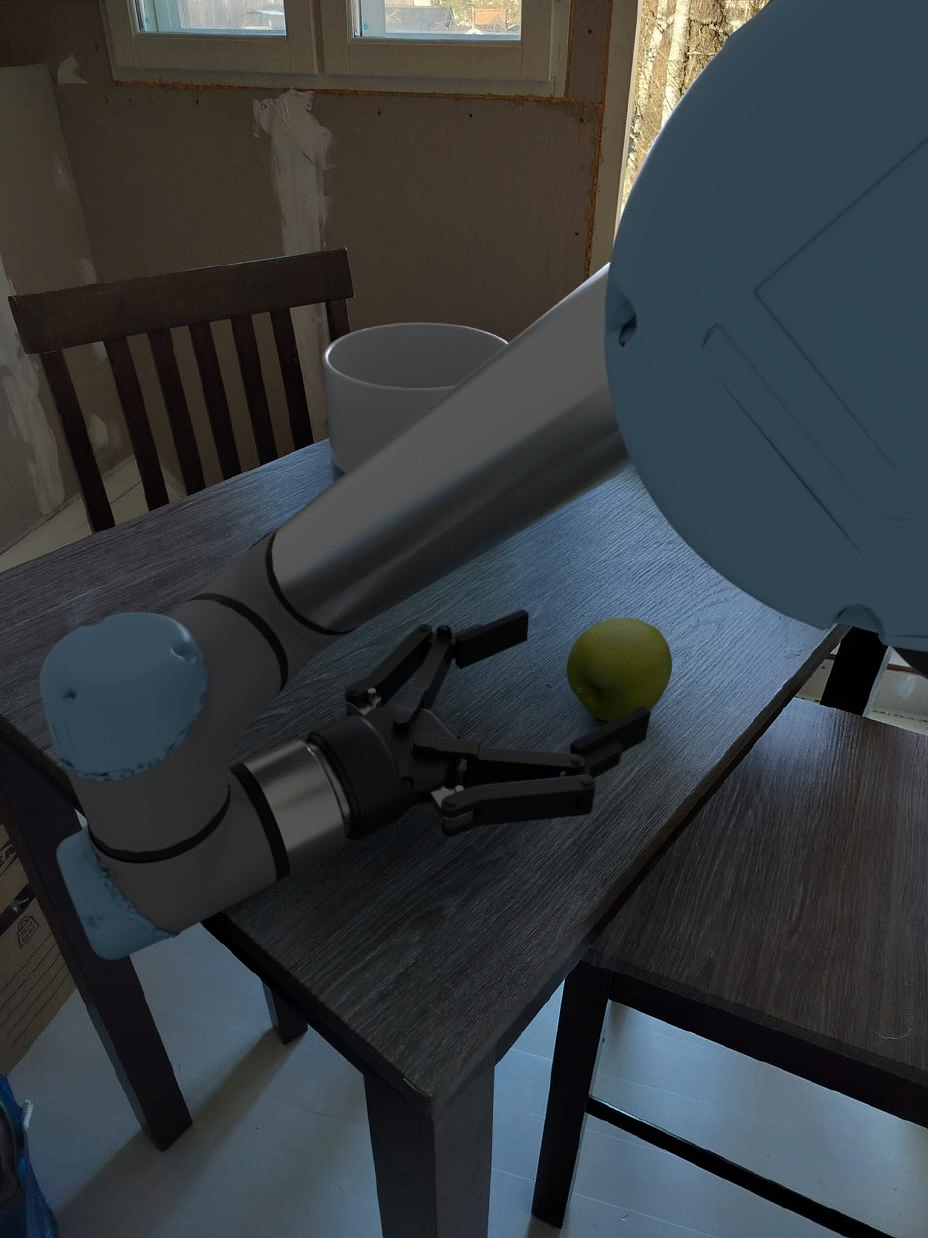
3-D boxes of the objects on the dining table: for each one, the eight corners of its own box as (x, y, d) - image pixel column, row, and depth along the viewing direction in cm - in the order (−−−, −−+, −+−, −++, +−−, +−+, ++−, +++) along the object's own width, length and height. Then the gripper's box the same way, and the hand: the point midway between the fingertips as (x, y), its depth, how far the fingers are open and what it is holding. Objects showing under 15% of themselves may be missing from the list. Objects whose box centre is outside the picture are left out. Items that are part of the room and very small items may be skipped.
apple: (540, 716, 68) (547, 637, 63) (601, 661, 74) (611, 585, 69) (624, 762, 64) (638, 682, 60) (682, 700, 70) (699, 622, 65)
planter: (525, 549, 88) (535, 384, 78) (338, 561, 86) (323, 394, 76) (493, 465, 104) (498, 318, 93) (334, 474, 101) (320, 325, 91)
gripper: (255, 720, 65) (483, 626, 74) (432, 974, 48) (695, 811, 58) (240, 642, 60) (485, 553, 70) (430, 893, 44) (716, 731, 53)
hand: (581, 670), depth 64 cm, fingers open, 13 cm apart
